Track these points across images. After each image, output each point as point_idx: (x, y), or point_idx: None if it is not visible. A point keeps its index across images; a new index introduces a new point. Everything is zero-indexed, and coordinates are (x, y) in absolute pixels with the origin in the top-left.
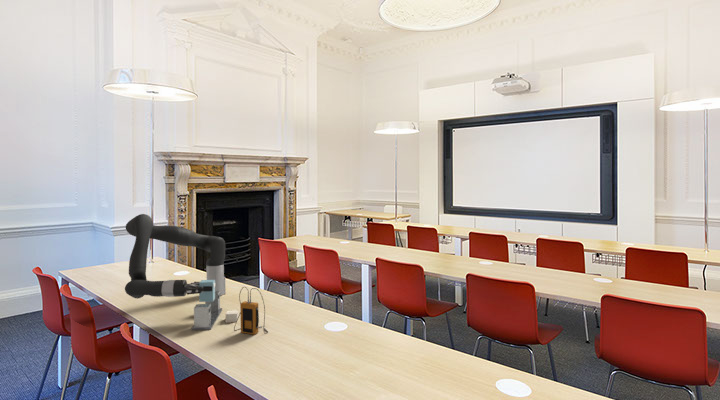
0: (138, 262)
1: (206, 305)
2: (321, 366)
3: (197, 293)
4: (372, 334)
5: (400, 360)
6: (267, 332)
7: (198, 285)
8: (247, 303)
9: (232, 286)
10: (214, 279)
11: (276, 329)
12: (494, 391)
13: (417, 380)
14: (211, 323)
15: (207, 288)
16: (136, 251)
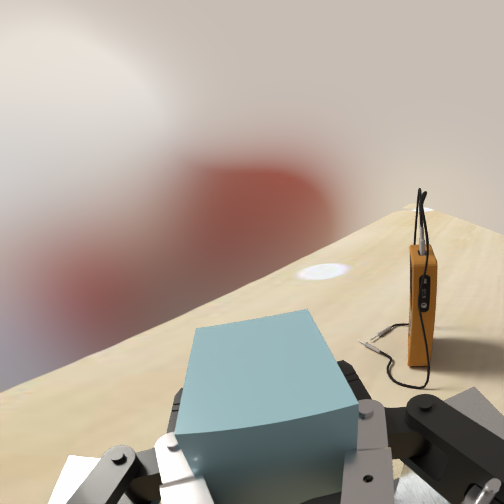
0: None
1: (458, 410)
2: (474, 251)
3: (442, 455)
4: (350, 247)
5: (416, 230)
6: (399, 324)
7: (356, 450)
8: (430, 252)
9: None
10: None
11: (369, 320)
12: (435, 211)
13: (447, 223)
14: (394, 487)
15: (357, 381)
16: None
